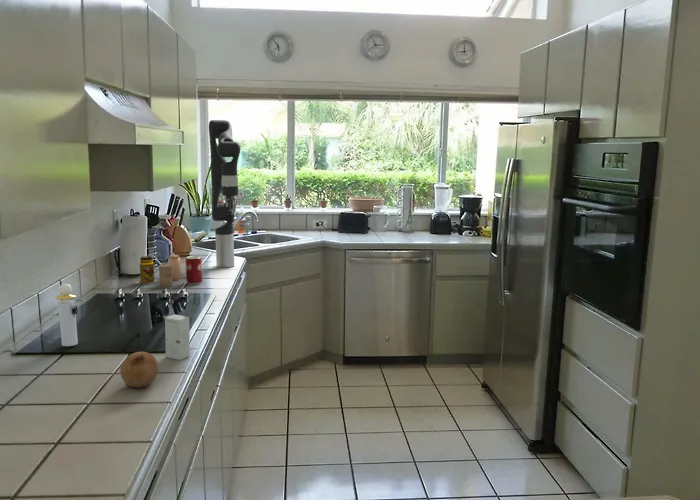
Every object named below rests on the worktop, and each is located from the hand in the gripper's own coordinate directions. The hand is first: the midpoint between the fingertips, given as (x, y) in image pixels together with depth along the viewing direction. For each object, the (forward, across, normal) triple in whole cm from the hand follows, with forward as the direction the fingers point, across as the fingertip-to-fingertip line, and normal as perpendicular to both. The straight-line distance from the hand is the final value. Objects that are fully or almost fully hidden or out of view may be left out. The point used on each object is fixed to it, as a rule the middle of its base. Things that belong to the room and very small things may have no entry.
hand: (231, 222), depth 284 cm
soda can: (+27, +11, -15) cm, 33 cm away
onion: (+27, +132, +11) cm, 135 cm away
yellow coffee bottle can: (+27, +11, -38) cm, 48 cm away
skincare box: (+27, +110, +13) cm, 114 cm away
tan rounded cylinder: (+27, +3, -27) cm, 38 cm away
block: (+27, +17, -26) cm, 41 cm away
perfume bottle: (+27, +103, -24) cm, 109 cm away
